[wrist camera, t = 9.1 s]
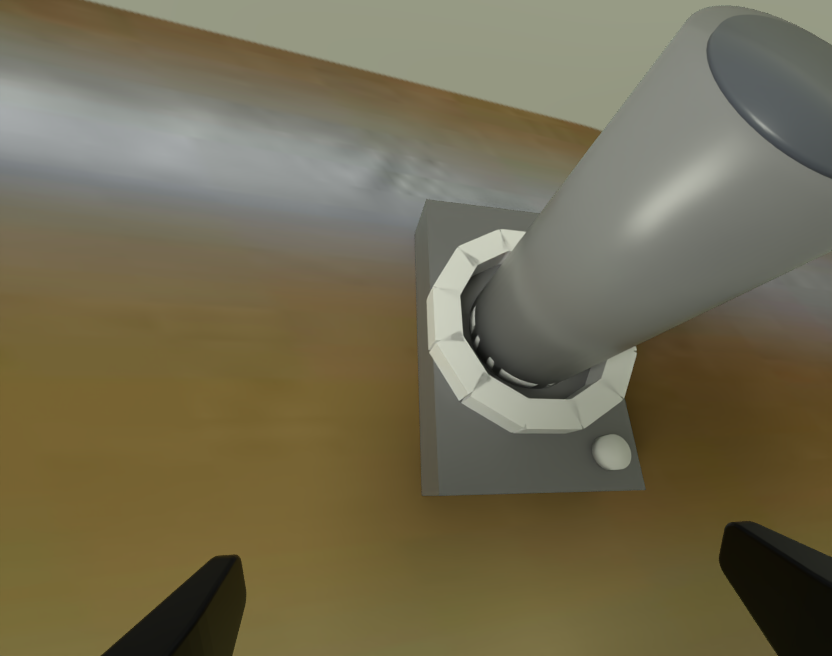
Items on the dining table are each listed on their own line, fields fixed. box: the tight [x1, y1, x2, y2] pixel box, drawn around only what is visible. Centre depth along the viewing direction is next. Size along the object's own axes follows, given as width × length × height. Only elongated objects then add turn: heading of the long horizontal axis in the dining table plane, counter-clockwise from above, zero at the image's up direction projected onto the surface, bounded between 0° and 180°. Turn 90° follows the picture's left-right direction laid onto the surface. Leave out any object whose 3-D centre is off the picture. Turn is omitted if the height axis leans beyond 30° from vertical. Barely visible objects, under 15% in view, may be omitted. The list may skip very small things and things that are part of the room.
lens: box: [469, 6, 832, 389], centre depth 13 cm, size 6×6×12 cm
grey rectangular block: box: [415, 199, 646, 496], centre depth 19 cm, size 14×9×4 cm
